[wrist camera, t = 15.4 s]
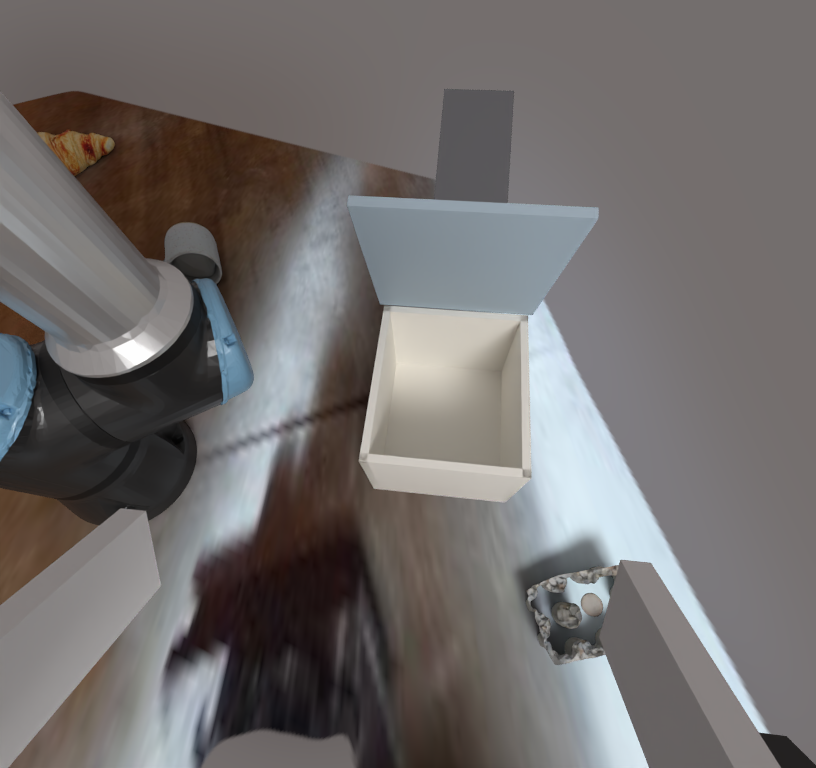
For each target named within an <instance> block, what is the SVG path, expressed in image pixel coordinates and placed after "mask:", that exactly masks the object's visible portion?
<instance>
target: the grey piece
mask: <svg viewBox="0 0 816 768" xmlns="http://www.w3.org/2000/svg"><path fill="white" fill-rule="evenodd" d="M618 567H619V565H617V566H612V567H606V568H603V567H602V566H598V567H593V568H590V569H589V570H584V571H580V572H574V573H567V574H562V575H558V576H555V577H553V578H550V579H548V580H546V581H543V582H541V583H539V584H537V585H533V586H531V587H532V588H530V589H529V590H526V592H527V593H528V599H527V600H526V604H527V607H528V610H529V611H532V612H535V619H536V622H537V624H538V625H539V629H540V632H541V633H540V634H539V635H538V640H539V643H540V645H541V646H542V647H544V648H545V649H546V650H547V652H548V654H549V656H550V657H551V659H552V661H553V662H554V664H555V665H560V664H566V663H571V662H573V661H578V660H583V659H588V658H595V657H598V656H602V655H606V654H605V651H604V649H603V646H602V643H601V641H600V638H599V636H600V632H601V629H602V628H600V629H599V630H598V631H597V632H596V635H595V644H594V645H591V644H590V642H589V641H587V640H582V639H580V638H577V637H571V638H569V639H568V640H567V641H566V643H565V654H562V655H559V654H558V653H557V652H556V651H554V650H552V646H551V643H550V642H549V641H547V638H548V637H549V636H550V631H549V630H550V627H551V623H550V619H549V618H547V617H545V616H544V614H542V613H539V612H538V611H537V609H534V608H532V607H531V603H530V602H531V601H532V600H533V599H535V598H536V596H537V592H538V591H537V587H538V586H540V585H542V587H543V588H544V589H545V590H547V591H549V592H555V593H562V592H564V589H565V587H566V584H567V578H568V577H570V578H571V579H572V580H573V581H575V582H577V583H582V584H590V583H594V584H595V583H596V581H597V580H598V579H599V577H603V576H610V575H612V577H613V580H614V581H615V578H616V574H617V571H618ZM612 589H613V587H612V588H611V590H610V596H611V592H612ZM581 606H582V609H583V610H584V612H585V613H586V614H588V615H590V616H594V617H595V616H599V615H600V614H601V613H602V610H603V604H602V601H601V600H600V598H599V597H598V596H597V595H595V594H593V593H587V594H585V595H584V596H583V598H582V600H581ZM552 617H553V619H554V620H555V622H556V623H558V624H559V625H561V626H563V627H566V628H569V629H573V628H577V627H578V626H579V624H580V622H581V620H582V615H581V612H580V608H579V607H578V606H577V605H576V604H574V603H566V602H557V603H556V604H554V606H553V608H552Z"/></svg>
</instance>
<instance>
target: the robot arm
mask: <svg viewBox="0 0 816 768" xmlns="http://www.w3.org/2000/svg"><path fill="white" fill-rule="evenodd" d="M0 302H2V303H3V304H5V305H6V306H8V307H9V308H11V309H12V310H14V311H15V312H17V313H18V314H20V315H21V316H23V317H24V318H26V319H27V320H29V321H30V322H32V323H33V324H35V325H37V326H38V327H40V328H41V329H43V330H44V331H45V340H44V341H42V342H39V343H37V344H33V345H28V343H27V341H25V340H24V339H22V338H20V337H18V336H14V335H8V334H2V333H0V488H3V489H9V490H14V491H19V492H24V493H29V494H34V495H39V496H44V497H49V498H54V499H57V500H58V501H60V502H61V503H62V504H63V505H65V506H66V507H67V508H68V509H69V510H71V511H72V512H73V513H74V514H76V515H77V516H78V517H80V518H81V519H83V520H85V521H87V522H89V523H92V524H96V525H99V526H98V527H97V528H96V529H95V530H93V531H92V532H91V533H90V534H88V535H87V536H86V537H85V538H83V539H82V540H81V541H80V542H78V543H77V544H76V545H75V546H73V547H72V548H71V549H70V550H68V551H67V552H66V553H65V554H63V555H62V556H61V557H60V558H59V559H57V560H56V561H55V562H54V563H52V564H51V565H50V566H49V567H47V568H46V569H45V570H44V571H42V572H41V573H40V574H39V575H37V576H36V577H35V578H34V579H32V580H31V581H30V582H29V583H27V584H26V585H25V586H24V587H23V588H21V589H20V590H19V591H18V592H16V593H15V594H14V595H13V596H11V597H10V598H9V599H8V600H6V601H5V602H4V603H3V604H1V605H0V768H8V767H9V766H10V765H11V764H12V763H13V761H14V760H15V759H16V758H17V757H18V755H19V754H20V753H21V752H22V751H23V749H24V748H25V747H26V746H27V745H28V744H29V742H30V741H31V740H32V739H33V738H34V736H35V735H36V734H37V733H38V732H39V730H40V729H41V728H42V727H43V726H44V725H45V723H46V722H47V721H48V720H49V719H50V717H51V716H52V715H53V714H54V713H55V711H56V710H57V709H58V708H59V707H60V705H61V704H62V703H63V702H64V701H65V700H66V698H67V697H68V696H69V695H70V694H71V692H72V691H73V690H74V689H75V688H76V686H77V685H78V684H79V683H80V682H81V681H82V679H83V678H84V677H85V676H86V675H87V673H88V672H89V671H90V670H91V669H92V667H93V666H94V665H95V664H96V663H97V662H98V660H99V659H100V658H101V657H102V656H103V654H104V653H105V652H106V651H107V650H108V648H109V647H110V646H111V645H112V644H113V642H114V641H115V640H116V639H117V638H118V637H119V635H120V634H121V633H122V632H123V631H124V629H125V628H126V627H127V626H128V625H129V623H130V622H131V621H132V620H133V619H134V618H135V616H136V615H137V614H138V613H139V612H140V610H141V609H142V608H143V607H144V606H145V604H146V603H147V602H148V601H149V600H150V599H151V597H152V596H153V595H154V594H155V593H156V591H157V590H158V589H159V588H160V587H161V582H160V578H159V573H158V568H157V563H156V558H155V553H154V548H153V543H152V538H151V533H150V528H149V523H148V520H150V519H152V518H154V517H156V516H157V515H159V514H160V513H162V512H163V511H165V510H166V509H167V508H168V507H169V506H170V505H171V504H173V503H174V501H175V500H176V499H177V498H178V497H179V496H180V495H181V493H182V492H183V490H184V489H185V487H186V486H187V484H188V482H189V480H190V478H191V476H192V473H193V470H194V467H195V462H196V443H195V439H194V436H193V433H192V431H191V430H190V428H189V427H188V425H187V424H186V423H185V422H184V421H183V420H185V419H188V418H190V417H192V416H195V415H197V414H199V413H202V412H204V411H206V410H209V409H211V408H213V407H216V406H218V405H223V404H225V403H226V402H227V401H228V400H229V399H231V398H233V397H235V396H237V395H239V394H241V393H243V392H245V391H246V390H248V389H249V388H250V387H251V385H252V384H253V381H254V373H253V370H252V367H251V364H250V361H249V358H248V356H247V353H246V351H245V348H244V346H243V343H242V341H241V338H240V336H239V333H238V331H237V329H236V326H235V324H234V322H233V319H232V317H231V315H230V313H229V310H228V308H227V306H226V304H225V301H224V299H223V297H222V295H221V293H220V291H219V289H218V287H217V285H216V284H215V282H214V281H213V280H211V279H208V278H204V279H195V280H193V281H192V283H190V282H189V281H188V279H187V278H186V277H185V276H184V275H183V274H182V272H181V271H180V270H178V269H177V268H176V267H174V266H173V265H171V264H168V263H166V262H163V261H160V260H155V259H147V258H144V257H143V255H142V254H141V253H140V252H139V251H138V250H137V249H136V247H135V246H134V245H133V244H132V243H131V242H130V240H129V239H128V238H127V237H126V236H125V235H124V233H123V232H122V231H121V230H120V229H119V228H118V227H117V225H116V224H115V223H114V222H113V221H112V220H111V218H110V217H109V216H108V215H107V214H106V213H105V212H104V210H103V209H102V208H101V207H100V206H99V205H98V203H97V202H96V201H95V200H94V199H93V198H92V196H91V195H90V194H89V193H88V192H87V191H86V189H85V188H84V187H83V186H82V185H81V184H80V183H79V181H78V180H77V179H76V178H75V177H74V176H73V174H72V173H71V172H70V171H69V170H68V169H67V167H66V166H65V165H64V164H63V163H62V162H61V160H60V159H59V158H58V157H57V156H56V155H55V154H54V152H53V151H52V150H51V149H50V148H49V147H48V145H47V144H46V143H45V142H44V141H43V140H42V138H41V137H40V136H39V135H38V134H37V133H36V132H35V130H34V129H33V128H32V127H31V126H30V125H29V123H28V122H27V121H26V120H25V119H24V118H23V116H22V115H21V114H20V113H19V112H18V111H17V109H16V108H15V107H14V106H13V105H12V104H11V103H10V101H9V100H8V99H7V98H6V97H5V96H4V95H3V93H2V92H1V91H0ZM599 638H600V641H601V643H602V646H603V649H604V651H605V654H606V656H607V659H608V662H609V664H610V667H611V669H612V672H613V675H614V677H615V680H616V682H617V685H618V688H619V690H620V693H621V695H622V698H623V701H624V703H625V706H626V708H627V711H628V714H629V716H630V719H631V722H632V724H633V727H634V729H635V732H636V735H637V737H638V740H639V742H640V745H641V748H642V750H643V753H644V755H645V758H646V761H647V763H648V766H649V768H816V765H815V764H814V763H813V762H812V761H811V760H810V759H809V758H808V757H807V756H806V755H805V754H804V753H803V752H802V751H801V750H800V749H799V748H798V747H797V746H796V745H795V744H794V743H792V741H791V740H790V739H789V738H787V736H780V735H773V734H765V733H759V732H758V731H757V729H756V728H755V726H754V724H753V723H752V721H751V720H750V718H749V717H748V715H747V713H746V712H745V710H744V709H743V707H742V706H741V704H740V702H739V701H738V699H737V698H736V696H735V695H734V693H733V691H732V690H731V688H730V687H729V685H728V683H727V682H726V680H725V679H724V677H723V676H722V674H721V672H720V671H719V669H718V668H717V666H716V665H715V663H714V661H713V660H712V658H711V657H710V655H709V654H708V652H707V650H706V649H705V647H704V646H703V644H702V643H701V641H700V639H699V638H698V636H697V635H696V633H695V632H694V630H693V628H692V627H691V625H690V624H689V622H688V621H687V619H686V617H685V616H684V614H683V613H682V611H681V610H680V608H679V606H678V605H677V603H676V602H675V600H674V599H673V597H672V595H671V594H670V592H669V591H668V589H667V588H666V586H665V584H664V583H663V581H662V580H661V578H660V577H659V575H658V573H657V572H656V570H655V569H654V567H653V565H652V564H651V563H647V562H637V561H627V560H620V563H619V567H618V571H617V574H616V578H615V581H614V585H613V589H612V592H611V596H610V600H609V603H608V607H607V610H606V614H605V618H604V621H603V625H602V629H601V632H600V636H599Z"/></svg>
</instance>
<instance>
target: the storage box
mask: <svg viewBox="0 0 816 768" xmlns="http://www.w3.org/2000/svg"><path fill="white" fill-rule="evenodd" d="M359 463H360V464H361V466H362V468H363V470H364V472H365V473H366V475H367V477H368V479H369V481H370V483H371V484H372V486H373V488H374V489H383V490H392V491H402V492H411V493H421V494H430V495H440V496H449V497H459V498H468V499H478V500H487V501H497V502H506V501H507V500H508V499H509V498H511V497H512V496H513V495H514V494H515V493H516V492H517V491H518V490H519V489H520V488H521V487H523V486H524V485H525V484H526V483H527V482H528V481H529V480H530V479H531V436H530V391H529V345H528V316H527V315H513V314H499V313H484V312H470V311H456V310H442V309H427V308H413V307H399V306H384V311H383V317H382V323H381V329H380V335H379V341H378V347H377V353H376V359H375V365H374V371H373V377H372V383H371V389H370V395H369V401H368V408H367V414H366V420H365V426H364V432H363V438H362V444H361V450H360V456H359Z"/></svg>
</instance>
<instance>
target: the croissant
mask: <svg viewBox="0 0 816 768" xmlns="http://www.w3.org/2000/svg"><path fill="white" fill-rule="evenodd" d="M37 134H38V135H39V136H40V137H41V138H42V140H43V141H44V142H45V143H46V144H47V145H48V147H49V148H50V149H51V150H52V151H53V152H54V154H55V155H56V156H57V157H58V158H59V159H60V160H61V162H62V163H63V164H64V165H65V166H66V167H67V169H68V170H69V171H70V172H71V173H72V174H73V176H76V175H78V174H79V173H81V172H82V171H84V170H85V169H86V168H87V167H88V166H89V165H93V164H95V163H96V162H97V160H99V159H100V158H101V156H104V155H107V154H108V153H109V152H111V151H112V149H113V148H114V146H115V143H114V141H113V139H112V138H109V137H104V136H101V135H98V134H95V133H90V134H89V135H85V134H80V133H77V132H75V131H70V130H66V131H65V132H63V133H62V134H60V135H56V136H54V135H51V134H49V133H46V132H38V133H37Z"/></svg>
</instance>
